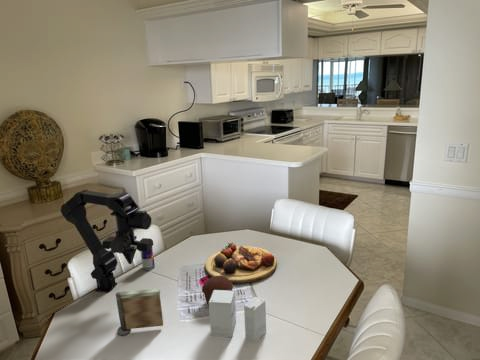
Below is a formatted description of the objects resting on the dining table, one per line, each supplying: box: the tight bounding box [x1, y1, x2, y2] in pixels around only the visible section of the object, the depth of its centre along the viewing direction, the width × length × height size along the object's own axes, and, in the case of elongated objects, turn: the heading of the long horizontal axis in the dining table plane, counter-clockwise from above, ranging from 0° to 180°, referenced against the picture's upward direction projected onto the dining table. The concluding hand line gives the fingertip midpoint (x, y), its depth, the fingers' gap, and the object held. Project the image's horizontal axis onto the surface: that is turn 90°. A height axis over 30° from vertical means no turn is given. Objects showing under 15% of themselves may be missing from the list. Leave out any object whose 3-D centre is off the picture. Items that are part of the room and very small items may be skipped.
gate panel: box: [115, 288, 164, 330], centre depth 119 cm, size 14×2×13 cm, turn 95°
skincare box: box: [243, 296, 267, 343], centre depth 114 cm, size 6×4×12 cm
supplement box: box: [208, 290, 237, 338], centre depth 118 cm, size 7×7×13 cm
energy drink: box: [140, 246, 156, 271], centre depth 161 cm, size 5×5×12 cm
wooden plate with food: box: [204, 242, 278, 285], centre depth 159 cm, size 32×32×8 cm
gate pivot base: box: [116, 326, 132, 337], centre depth 120 cm, size 4×4×1 cm
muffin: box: [201, 276, 234, 308], centre depth 132 cm, size 12×11×10 cm
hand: (130, 263), depth 139 cm, fingers closed
